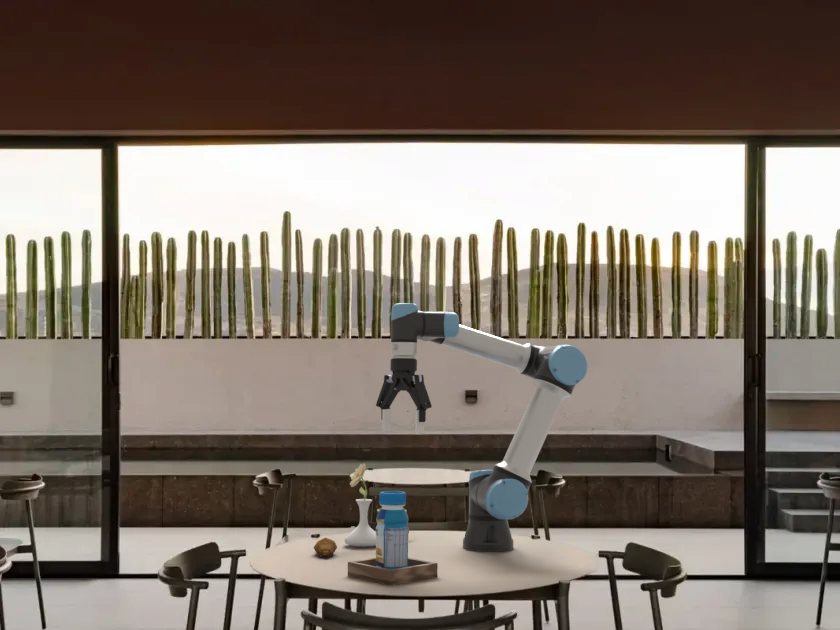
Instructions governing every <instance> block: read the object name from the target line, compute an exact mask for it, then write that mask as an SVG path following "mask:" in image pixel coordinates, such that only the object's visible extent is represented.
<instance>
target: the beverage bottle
mask: <svg viewBox="0 0 840 630" xmlns="http://www.w3.org/2000/svg"><path fill="white" fill-rule="evenodd" d="M378 495H379V499H378V500H379V502H378V503H379V506H381V508H379V509H380V511H379V513H378V512H377V515H376V519H375V520H376V523H377V525H376V527H375V532H376V546H375V558H376V567H381V568H386V569H397V568H404V567H408V558H409V533H410V528H409V526H408V522H409V515H408V513H407V511H405V510H406V509H405V508H404V507H406V504H407V493H406V491H402V490H401V491H400V490H384V491H380V492H379V494H378Z"/></svg>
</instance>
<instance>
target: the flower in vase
mask: <svg viewBox="0 0 840 630" xmlns="http://www.w3.org/2000/svg"><path fill="white" fill-rule="evenodd" d="M366 470H367V469H366V464H365V463H360V465H359V466H358V467H356V468H355V470H354V473H353V475H352V476H351V478H350V480H351V481H350V482H349V485H350V487H351V488H354V487H355V486H357V485H358V484H359V483H360V481H361V480H362V482H363V485H364V488H363V487H362V486H360V488H359V489H358V490H359V493H360V494H361V495H363V498H359V499H358V498H356V499H355V502H356V503H357V505H358V508H359V509H358V510H359V523H358V525H357V526H356V527H355V528H354V529H353V530H352V531H351V532H349V534H347V535H346V537H345V538H344V543H345V544H346V545H348V546H351V547H356V548H357V547H359V548H370V547H374V546H375V547H376V530H374V529H373V528H371V526H370V525H369V522H368V514H369V508H370V504H371V503H372V501H373V499H371V498H370V499H369V498H366V497H367V495H368V489H367V485H366V483H365V479H363V477H364V475H365V472H366Z"/></svg>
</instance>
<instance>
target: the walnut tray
mask: <svg viewBox="0 0 840 630" xmlns="http://www.w3.org/2000/svg"><path fill="white" fill-rule="evenodd" d="M438 565H439V564H438V562H433V561H428V560H425V559H424V560H422V559H418V558H413V557H408V567H404V568H397V569H386V568H381V567H376V557H372V558H366V559H358V560H351V561H347V577H351V578H354V579H358V580H359V579H360V580H364V581H368V582H371V583H372V582H373V583H376V584H377V583H378V584H382V585H386V586H390V587H391V586H396V585H401V584H408V583H413V582H419V581H424V580H430V579H435V578H438V567H439V566H438Z"/></svg>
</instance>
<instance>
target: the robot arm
mask: <svg viewBox="0 0 840 630" xmlns="http://www.w3.org/2000/svg"><path fill="white" fill-rule="evenodd" d="M390 315H391V316H390V317H391V318H390V356H391V357H392V358H391V359H390V370H389V371H391V372H392V374H384V376H383V384H382V385H381V389H380V391H379V395H378V397H377V400H376V403H375V406H376V407H379V408H380V410H381V418H380V420H381V421H382V422H381V423H382V425H381V427H382V428H381V429H382V430H381V431H382V432H381V433H391V432H392V409H391V405H392V404H393V402H394V401H395V399H396V397H397V395H398V394H399V393H400V392H401V391H402V392H403V391H404V392H407V394H409V396H410V398H411V399H412V401H413V403H414V405H415V407H416V410H415V417H414V418H415V420H414V421H415V424H414V425H415V426H414V428H415V431H414V434H415V435H424V434H425V423H426V419H427V418H426V417H427V416H426V415H427V414H426V411H427V410H428V409H432V402H431V399H430V396H429V393H428V390H427V387H426V385H425V378H424V377H425V376H424V375H423V374H416V372H417V371H418V359H417V358H416V357H418V339H419V340H421V341H423V342H424V341H425V342H428V341H429V342H431V343H434V344H437V345H441V346H444V347H448V348H451V349H454V350H458V351H460V352H463V353H466V354H469V355H472V356H475V357H478V358H481V359H485V360H487V361H491V362H494V363H497V364H500V365H504V366H506V367H509V368H512V369H515V370H516V372H517V373H518V374H520V375H524V376H526V377H529V378H531V379H533V382H534V385H535V389H534V391H533V393H532V396H531V398H530V399H529V402H528V404H527V406H526V409H525V411H524V413H523V415H522V418H521V419H520V422H519V424H518V427H517V429H516V431H515V433H514V434H513V438H512V439H511V441H510V443H509V446H508V448H507V451H506V453H505V456H504V457H503V459H502V461H501V462H498V463H496V464H494V466H493V468H492V469H482V470H481V469H480V470H473V471H471V472H470V474H469V476H468V477H469V479H468V523H467V525H466V529H465V534H464V537H463V539H462V548H463V549H465V550H469V551H477V552H505V551H506V552H507V551H511V550H514V539H513V537H512V534H511V533H512V532H511V529H510V525H509V522H508V520H514V519H516V518H518V517H519V516H521V515H522V514H523V513H524V512H525V510H526V509H527V507H528V504H529V489H530V487H531V485H532V483H533V482H532V479H531V475H530V474H531V471H532V469H533V467H534V465H535V463H536V460H537V459H538V456H539V454H540V452H541V450H542V448H543V445H544V442H545V441H546V439H547V436H548V434H549V432H550V429H551V428H552V425H553V422H554V420H555V418H556V416H557V415H558V411H559V410H560V407H561V404H562V402H563V401H564V400H565V399H568V398H570V397H571V395H572V393H573V391H574V389H575V387H576V385H577V384H580V382H582V381H583V380H584V379H585V377H586V375H587V372H588V362H587V359H586V355H585V354H584V352H582V351H581V350H580V349H579V348H578V347H577V346H573V345H572V344H563V343H562V344H558V345H554V346H553V345H549V346H542V345H534V344H531V343H529V342H528V343H525V344H521V343H518V342H515V341H512V340H508V339H505V338H502V337H500V336H495V335H493V334H489V333H487V332H484V331H481V330H479V329H478V330H477V329H474V328H471V327H468V326H465V325H463V324H460V318H459V315H458V314H457V313H456V312H451V311H422V310H419V309H418V304H416V303H411V302H406V303H405V302H402V303H400V302H398V303H395V304H393V305H392V307H391V314H390Z"/></svg>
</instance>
